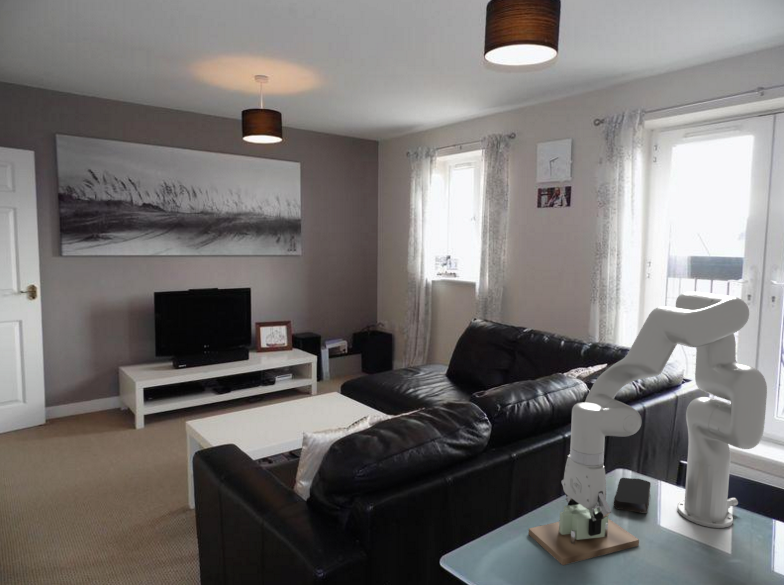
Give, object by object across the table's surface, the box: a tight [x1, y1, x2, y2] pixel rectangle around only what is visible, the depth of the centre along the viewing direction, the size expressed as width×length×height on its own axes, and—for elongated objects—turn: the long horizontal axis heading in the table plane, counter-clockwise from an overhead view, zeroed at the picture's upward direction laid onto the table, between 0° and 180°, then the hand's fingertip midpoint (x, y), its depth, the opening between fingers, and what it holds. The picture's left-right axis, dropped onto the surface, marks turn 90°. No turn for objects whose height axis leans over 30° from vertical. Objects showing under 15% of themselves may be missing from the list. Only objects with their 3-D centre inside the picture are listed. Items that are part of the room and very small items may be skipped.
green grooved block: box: [558, 504, 609, 540], centre depth 126 cm, size 12×6×5 cm, turn 100°
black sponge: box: [613, 477, 652, 514], centre depth 146 cm, size 16×8×4 cm, turn 151°
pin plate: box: [527, 517, 640, 566], centre depth 127 cm, size 22×13×4 cm, turn 110°
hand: (583, 525), depth 126 cm, fingers closed on green grooved block, 6 cm apart
